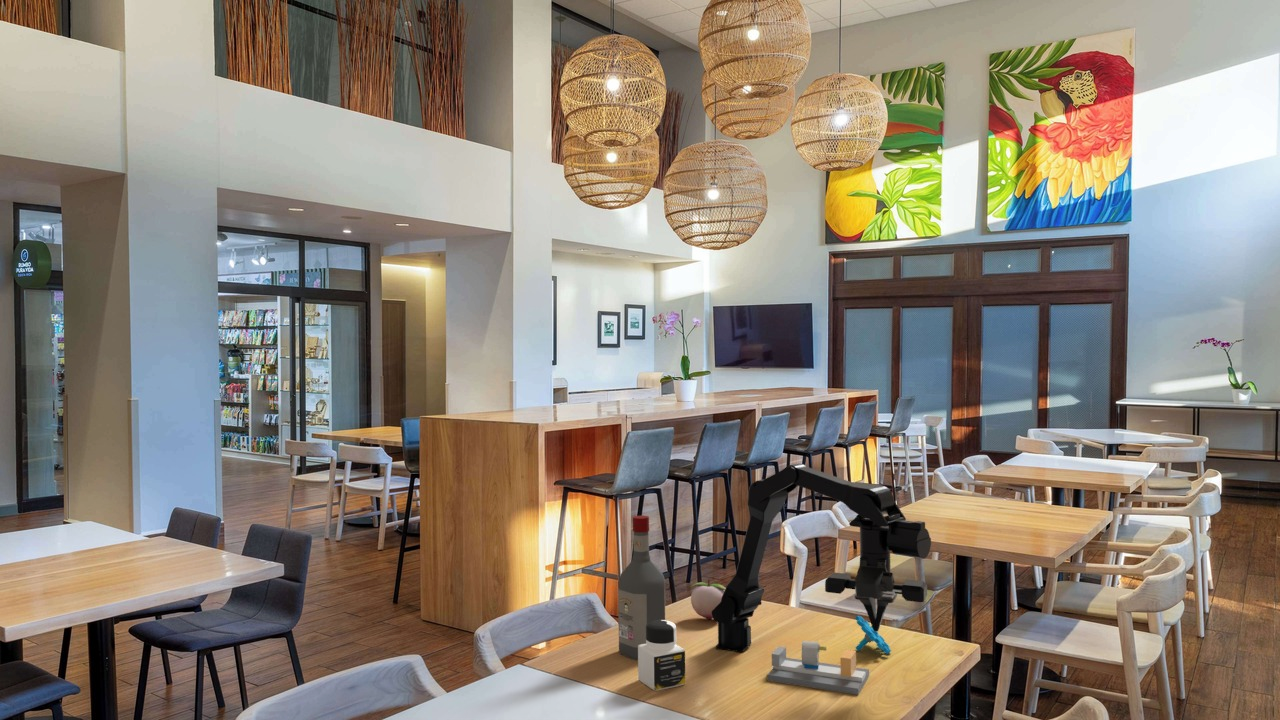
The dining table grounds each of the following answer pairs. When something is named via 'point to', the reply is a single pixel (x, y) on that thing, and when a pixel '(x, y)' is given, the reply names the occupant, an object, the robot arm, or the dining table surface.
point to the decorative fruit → (706, 598)
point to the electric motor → (811, 654)
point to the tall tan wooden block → (848, 663)
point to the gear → (871, 636)
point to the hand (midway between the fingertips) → (876, 630)
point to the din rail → (815, 674)
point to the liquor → (639, 593)
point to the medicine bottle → (661, 657)
